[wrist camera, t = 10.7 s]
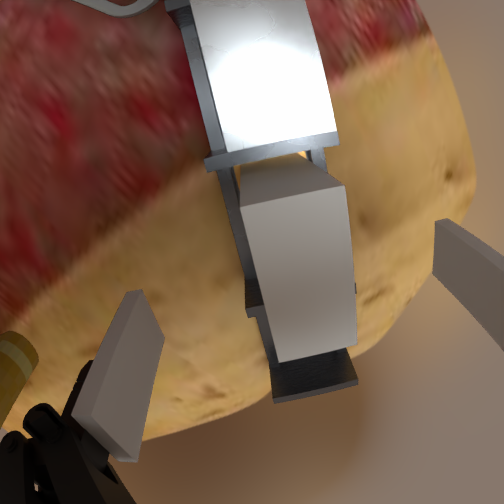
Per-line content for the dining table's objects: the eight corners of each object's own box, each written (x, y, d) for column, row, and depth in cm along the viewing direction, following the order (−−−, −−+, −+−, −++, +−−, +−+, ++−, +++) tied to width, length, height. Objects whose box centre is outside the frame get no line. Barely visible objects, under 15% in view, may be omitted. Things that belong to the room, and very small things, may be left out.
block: (264, 263, 25) (279, 362, 15) (240, 163, 21) (239, 207, 11) (313, 252, 24) (357, 344, 14) (296, 152, 21) (344, 185, 11)
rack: (269, 361, 30) (280, 460, 20) (181, 25, 17) (130, -43, 7) (342, 344, 30) (377, 438, 19) (284, 4, 17) (320, -76, 6)
